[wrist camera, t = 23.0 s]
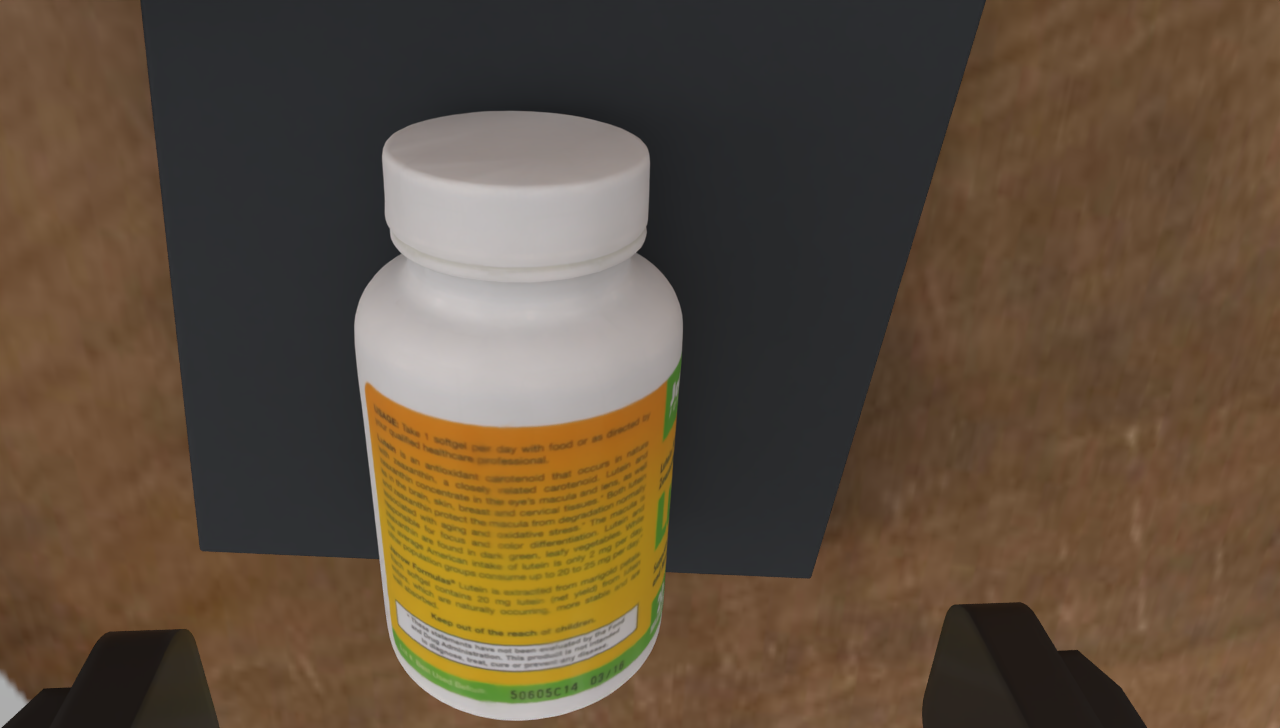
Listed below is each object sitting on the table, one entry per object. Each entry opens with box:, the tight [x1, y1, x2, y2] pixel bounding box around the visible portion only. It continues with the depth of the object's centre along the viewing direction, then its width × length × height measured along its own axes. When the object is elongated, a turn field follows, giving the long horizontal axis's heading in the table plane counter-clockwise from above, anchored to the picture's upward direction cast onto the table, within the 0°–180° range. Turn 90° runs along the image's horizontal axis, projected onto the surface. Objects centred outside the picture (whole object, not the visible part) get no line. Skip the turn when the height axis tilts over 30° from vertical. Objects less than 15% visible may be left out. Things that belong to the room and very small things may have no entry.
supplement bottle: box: [354, 111, 683, 720], centre depth 17 cm, size 5×5×10 cm
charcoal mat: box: [140, 0, 986, 578], centre depth 19 cm, size 14×14×1 cm
